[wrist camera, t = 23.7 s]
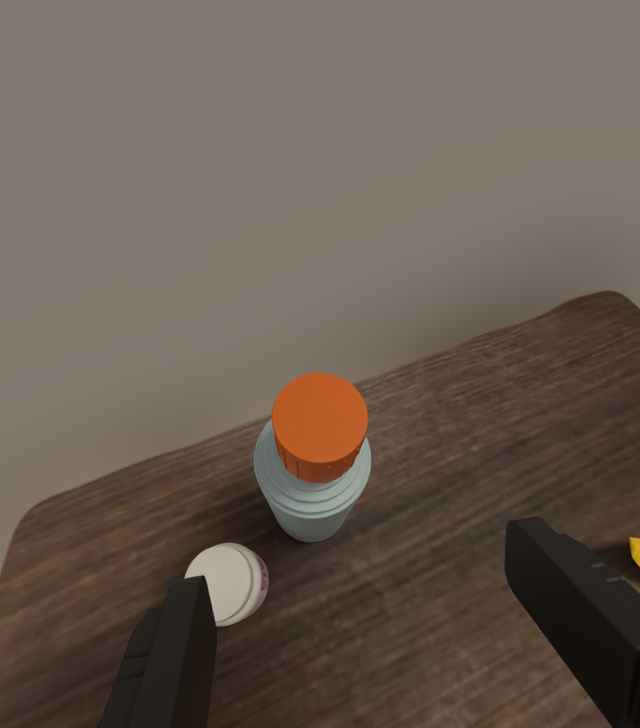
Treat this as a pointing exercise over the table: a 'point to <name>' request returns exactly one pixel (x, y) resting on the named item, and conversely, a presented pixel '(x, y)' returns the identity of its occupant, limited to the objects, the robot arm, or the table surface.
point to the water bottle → (307, 492)
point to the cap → (319, 426)
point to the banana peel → (635, 549)
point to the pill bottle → (232, 581)
